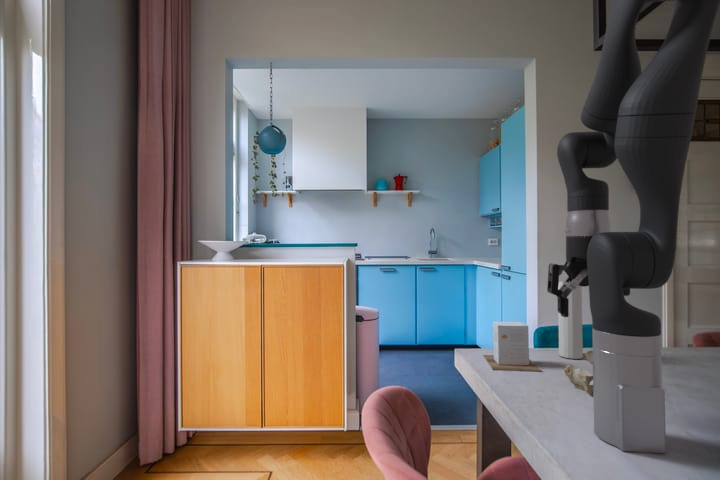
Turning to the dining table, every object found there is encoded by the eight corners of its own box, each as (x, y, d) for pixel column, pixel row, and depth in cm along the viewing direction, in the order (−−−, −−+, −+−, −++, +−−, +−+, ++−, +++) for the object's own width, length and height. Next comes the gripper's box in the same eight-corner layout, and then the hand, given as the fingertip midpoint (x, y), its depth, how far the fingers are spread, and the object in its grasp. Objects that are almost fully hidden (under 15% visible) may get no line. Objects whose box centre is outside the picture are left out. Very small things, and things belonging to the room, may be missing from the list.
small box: (522, 359, 108) (522, 321, 108) (529, 365, 102) (529, 325, 103) (492, 359, 109) (492, 321, 109) (498, 365, 103) (497, 324, 104)
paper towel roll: (573, 360, 108) (572, 282, 108) (554, 355, 113) (553, 281, 114) (590, 357, 111) (589, 281, 112) (570, 352, 116) (569, 280, 117)
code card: (542, 371, 98) (542, 371, 98) (492, 369, 100) (492, 369, 100) (526, 356, 112) (526, 356, 112) (483, 355, 113) (483, 354, 113)
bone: (561, 386, 83) (566, 341, 87) (562, 393, 88) (567, 350, 92) (609, 397, 79) (611, 349, 83) (607, 404, 83) (610, 358, 88)
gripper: (556, 234, 74) (556, 320, 74) (638, 234, 72) (637, 322, 72) (542, 234, 81) (542, 312, 81) (616, 234, 80) (616, 314, 80)
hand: (587, 317), depth 77 cm, fingers open, 8 cm apart
